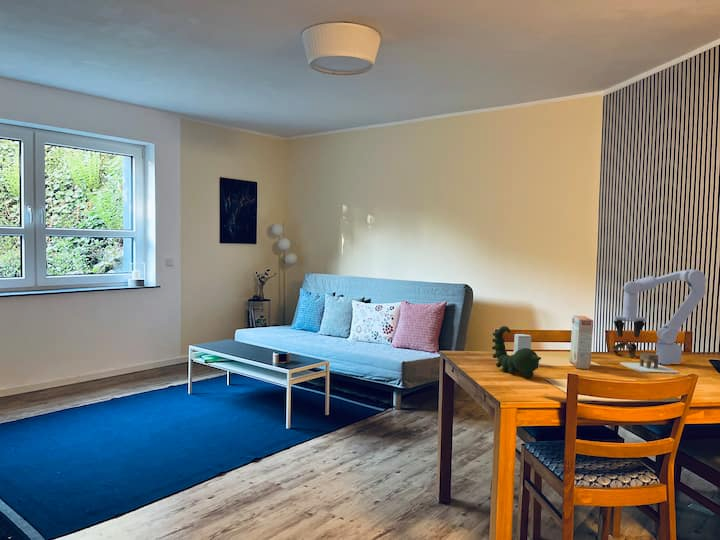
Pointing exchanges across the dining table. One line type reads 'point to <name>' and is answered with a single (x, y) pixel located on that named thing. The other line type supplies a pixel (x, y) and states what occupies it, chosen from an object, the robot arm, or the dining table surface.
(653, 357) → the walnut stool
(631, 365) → the grey mat
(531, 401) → the dining table surface
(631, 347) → the pottery mug
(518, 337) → the skincare box
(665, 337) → the robot arm
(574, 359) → the cracker box
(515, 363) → the toy figurine
